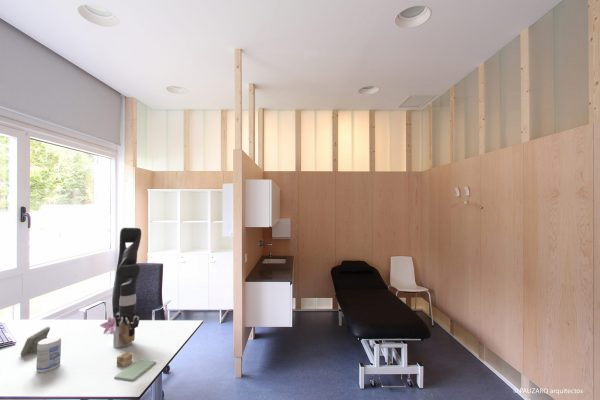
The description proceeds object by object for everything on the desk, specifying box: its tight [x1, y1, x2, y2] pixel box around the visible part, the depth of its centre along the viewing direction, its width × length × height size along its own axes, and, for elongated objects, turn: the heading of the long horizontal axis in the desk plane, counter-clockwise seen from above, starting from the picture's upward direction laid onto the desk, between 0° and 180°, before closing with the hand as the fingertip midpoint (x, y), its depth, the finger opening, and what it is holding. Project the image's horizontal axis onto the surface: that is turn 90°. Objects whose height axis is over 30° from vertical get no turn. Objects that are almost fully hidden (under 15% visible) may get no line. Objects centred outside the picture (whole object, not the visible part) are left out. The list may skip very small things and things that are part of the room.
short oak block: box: [116, 351, 133, 368], centre depth 149 cm, size 5×5×5 cm
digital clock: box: [20, 326, 51, 357], centre depth 163 cm, size 16×9×11 cm, turn 179°
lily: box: [99, 316, 115, 335], centre depth 188 cm, size 12×12×10 cm
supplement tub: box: [35, 335, 62, 373], centre depth 145 cm, size 10×10×15 cm
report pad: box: [113, 358, 157, 382], centre depth 143 cm, size 11×16×1 cm
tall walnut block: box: [119, 322, 136, 345], centre depth 141 cm, size 5×5×10 cm
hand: (127, 335), depth 141 cm, fingers closed on tall walnut block, 5 cm apart
